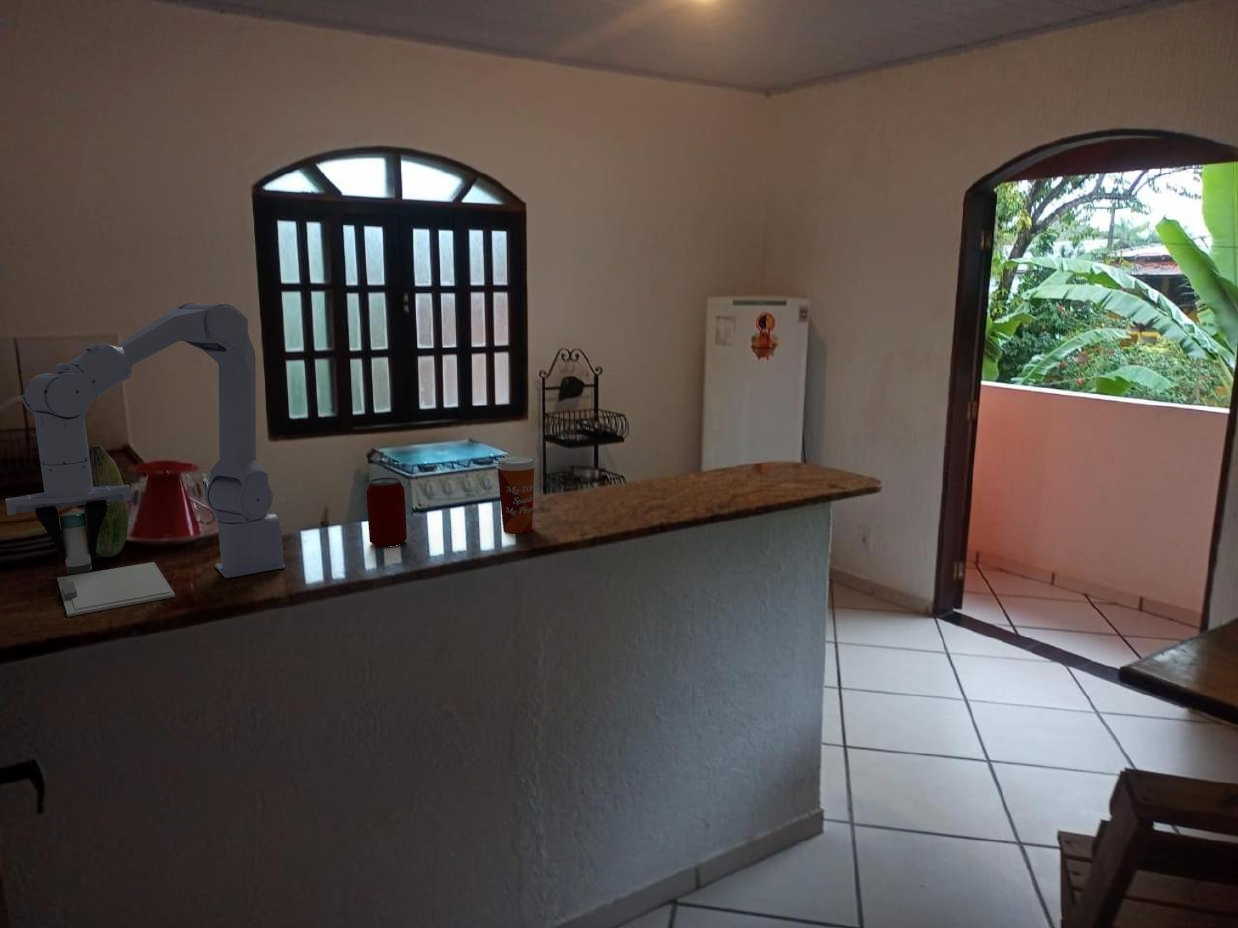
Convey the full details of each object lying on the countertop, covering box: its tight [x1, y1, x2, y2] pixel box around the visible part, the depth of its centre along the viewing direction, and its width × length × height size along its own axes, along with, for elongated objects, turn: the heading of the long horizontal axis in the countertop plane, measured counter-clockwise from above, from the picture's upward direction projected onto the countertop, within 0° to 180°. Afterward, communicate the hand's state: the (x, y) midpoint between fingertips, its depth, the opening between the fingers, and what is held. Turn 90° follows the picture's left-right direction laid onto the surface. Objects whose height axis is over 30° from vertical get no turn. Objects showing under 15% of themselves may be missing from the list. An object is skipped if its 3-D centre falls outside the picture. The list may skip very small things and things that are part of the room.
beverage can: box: [366, 477, 408, 548], centre depth 158 cm, size 7×7×12 cm
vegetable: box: [88, 444, 130, 558], centre depth 149 cm, size 6×6×20 cm
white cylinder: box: [59, 511, 93, 575], centre depth 120 cm, size 3×3×8 cm
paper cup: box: [495, 456, 537, 535], centre depth 167 cm, size 8×8×14 cm
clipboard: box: [57, 561, 176, 618], centre depth 135 cm, size 14×20×1 cm
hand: (77, 556), depth 120 cm, fingers closed on white cylinder, 3 cm apart
